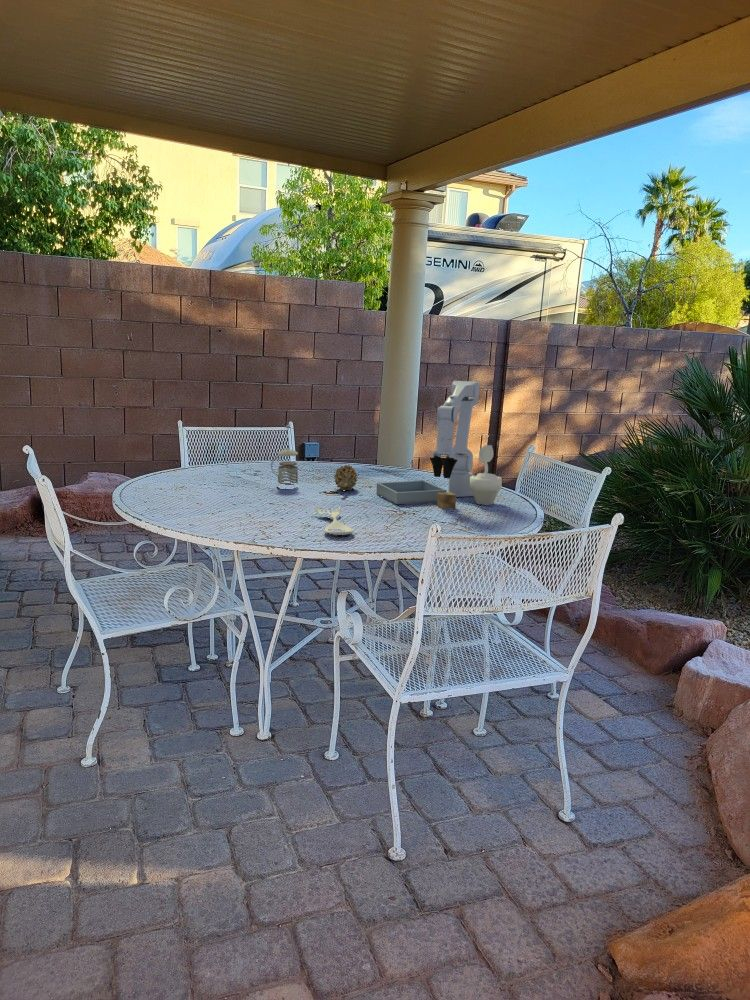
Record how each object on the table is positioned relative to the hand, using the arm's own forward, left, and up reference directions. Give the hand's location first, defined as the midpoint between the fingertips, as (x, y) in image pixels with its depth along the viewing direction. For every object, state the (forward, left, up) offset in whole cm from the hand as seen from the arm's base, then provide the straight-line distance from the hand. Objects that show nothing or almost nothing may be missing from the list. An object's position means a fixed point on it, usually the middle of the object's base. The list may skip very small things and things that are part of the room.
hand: (441, 477), depth 261 cm
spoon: (+46, +16, -11) cm, 50 cm away
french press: (+44, -50, -11) cm, 68 cm away
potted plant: (-19, -1, -11) cm, 22 cm away
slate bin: (+4, -17, -11) cm, 20 cm away
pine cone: (+24, -35, -11) cm, 44 cm away
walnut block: (-2, +1, -11) cm, 11 cm away
